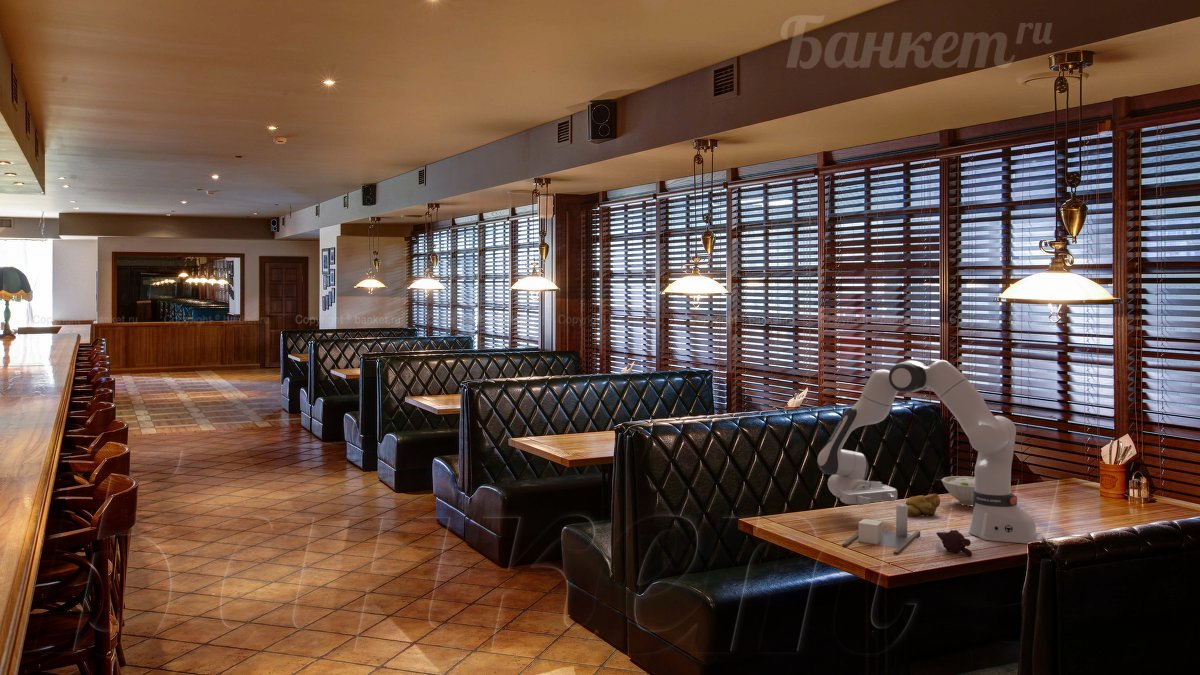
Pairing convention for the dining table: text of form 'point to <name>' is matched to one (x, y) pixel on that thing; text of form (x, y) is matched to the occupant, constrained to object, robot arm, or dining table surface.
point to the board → (890, 539)
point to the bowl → (960, 488)
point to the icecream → (955, 542)
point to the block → (870, 531)
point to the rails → (897, 551)
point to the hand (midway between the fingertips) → (881, 500)
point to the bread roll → (923, 505)
